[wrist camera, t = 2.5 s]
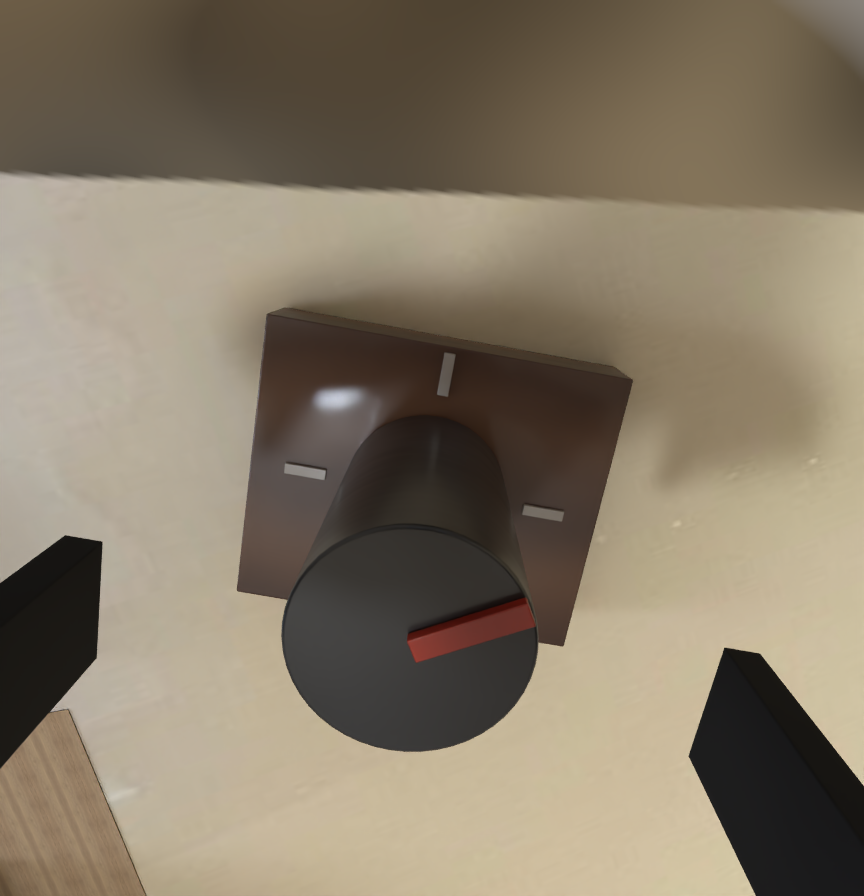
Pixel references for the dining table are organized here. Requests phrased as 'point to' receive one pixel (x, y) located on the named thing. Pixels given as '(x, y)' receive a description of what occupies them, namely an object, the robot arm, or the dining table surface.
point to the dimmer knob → (414, 594)
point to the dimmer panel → (436, 394)
